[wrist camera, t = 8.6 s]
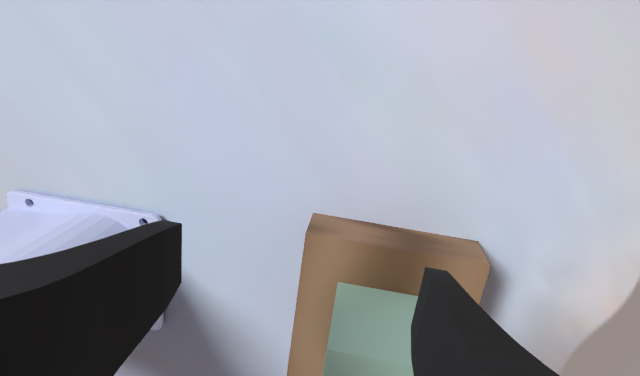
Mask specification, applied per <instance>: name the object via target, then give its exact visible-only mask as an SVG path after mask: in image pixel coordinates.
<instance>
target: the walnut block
mask: <svg viewBox="0 0 640 376" xmlns="http://www.w3.org/2000/svg"><path fill="white" fill-rule="evenodd" d="M425 267H429V268H434V269H440V270H445V271H448V272H449V273H450V274H451V275H452V276H453V277H454V278H455V279H456V281H457V282H458V283H459V284H460V285H461V286H462V287H463V288H464V289H465V291H466V292H467V293H468V294H469V295H470V296H471V297H472V298H473V299H474V301H475V302H476V303H477V304H478V305H479V304H480V301H481V297H482V294H483V291H484V288H485V284H486V281H487V278H488V275H489V271H490V268H491V264H490V263H489V261H488V259H487V257H486V255H485V253H484V251H483V249H482V248H481V246H480V244H479V242H478V241H473V240H467V239H461V238H456V237H450V236H444V235H438V234H432V233H427V232H421V231H415V230H409V229H404V228H398V227H392V226H386V225H380V224H375V223H369V222H363V221H357V220H351V219H346V218H340V217H334V216H328V215H322V214H317V213H313V215H312V218H311V221H310V223H309V226H308V229H307V232H306V236H305V243H304V251H303V258H302V266H301V273H300V281H299V288H298V296H297V303H296V311H295V318H294V326H293V333H292V341H291V348H290V356H289V363H288V371H287V376H322V375H323V368H324V362H325V356H326V350H327V344H328V338H329V332H330V326H331V320H332V314H333V308H334V302H335V295H336V289H337V283H338V282H342V283H347V284H353V285H359V286H364V287H370V288H375V289H381V290H386V291H392V292H398V293H403V294H409V295H414V296H418V295H419V291H420V286H421V282H422V278H423V274H424V270H425Z"/></svg>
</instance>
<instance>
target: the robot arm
mask: <svg viewBox="0 0 640 376" xmlns="http://www.w3.org/2000/svg"><path fill="white" fill-rule="evenodd" d="M30 199H31V200H32V201H33V203H34V204H33V203H32V202H31V200H30ZM6 200H7V207H8V208H7V209H4V210H2V211H0V376H113V375H114V374H115V373H116V371H117V370H118V369H119V367H120V366H121V365H122V364H123V363H124V361H125V360H126V359H127V358H128V356H129V355H130V354H131V353H132V351H133V350H134V349H135V348H136V346H137V345H138V344H139V343H140V341H141V340H142V339H143V338H144V336H145V335H146V334H147V333H148V331H149V330H154V331H157V330H159V329H160V328H161V327H162V326H163V323H164V313H163V312H164V311H165V310H166V308H167V306H168V305H169V303H170V301H171V300H172V298H173V296H174V295H175V293H176V291H177V289H178V287H179V286H180V284H181V249H182V224H181V223H175V222H170V221H164V220H162V219H161V217H160V216H159V215H157V214H154V213H148V212H142V211H136V210H130V209H124V208H118V207H113V206H107V205H101V204H95V203H89V202H83V201H77V200H71V199H66V198H60V197H54V196H48V195H42V194H36V193H30V192H25V191H19V190H14V191H11V192H9V193H8V194H7V196H6ZM143 218H144V219H146V220H147V222H148V224H146V223H144V222H143ZM411 360H412V368H413V375H414V376H559V375H558V374H556V373H555V372H554V371H552V370H551V369H550V368H548V367H547V366H546V365H544V364H543V363H542V362H541V361H539V360H538V359H537V358H536V357H534V356H533V355H532V354H531V353H529V352H528V351H527V350H526V349H524V348H523V347H522V346H521V345H520V344H518V343H517V342H516V341H515V340H514V339H513V338H512V337H511V336H510V335H508V334H507V333H506V332H505V331H504V330H503V329H502V328H501V327H500V326H499V325H498V324H497V323H496V322H495V321H494V320H493V319H492V318H491V317H490V316H489V315H488V314H487V313H486V312H485V311H484V310H483V309H482V308H481V307H480V306H479V305H478V304H477V303H476V302H475V301H474V299H473V298H472V297H471V296H470V295H469V294H468V293H467V292H466V291H465V289H464V288H463V287H462V286H461V285H460V284H459V283H458V282H457V281H456V279H455V278H454V277H453V276H452V275H451V274H450V273H449V272H448V271H445V270H440V269H434V268H429V267H425V270H424V274H423V278H422V282H421V286H420V291H419V295H418V299H417V303H416V307H415V311H414V315H413V319H412V324H411Z"/></svg>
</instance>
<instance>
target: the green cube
mask: <svg viewBox="0 0 640 376" xmlns="http://www.w3.org/2000/svg"><path fill="white" fill-rule="evenodd" d="M417 299H418V296H414V295H409V294H403V293H398V292H392V291H386V290H381V289H375V288H370V287H364V286H359V285H353V284H347V283H342V282H338V283H337V289H336V295H335V302H334V308H333V314H332V320H331V326H330V332H329V338H328V344H327V350H326V356H325V362H324V368H323V375H322V376H414V375H413V368H412V360H411V324H412V319H413V315H414V311H415V307H416V303H417Z"/></svg>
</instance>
